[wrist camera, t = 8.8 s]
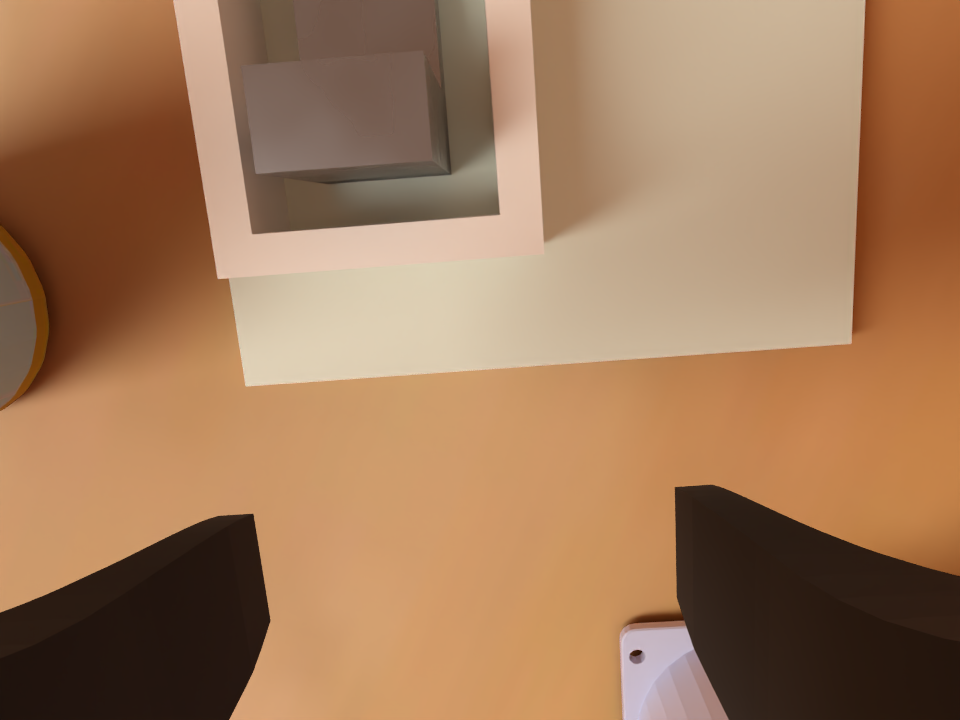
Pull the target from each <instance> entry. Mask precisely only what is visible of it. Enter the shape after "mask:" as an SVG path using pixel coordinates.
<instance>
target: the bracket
mask: <svg viewBox="0 0 960 720" xmlns="http://www.w3.org/2000/svg"><path fill="white" fill-rule="evenodd" d="M293 6H294V15H295V23H296V31H297V40H298V48H299V56H300V61H289V62H277V63H265V64H253V65H241V71H242V78H243V85H244V92H245V100H246V107H247V114H248V121H249V129H250V136H251V143H252V151H253V158H254V165H255V172H256V174H260V175H267V176H274V177H282V178H289V179H296V180H303V181H310V182H317V183H324V184H337V183H350V182H363V181H377V180H390V179H403V178H417V177H430V176H443V175H452V174H451V161H450V148H449V135H448V122H447V109H446V97H445V84H444V71H443V58H442V45H441V32H440V19H439V7H438V0H293Z"/></svg>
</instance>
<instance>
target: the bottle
mask: <svg viewBox="0 0 960 720" xmlns="http://www.w3.org/2000/svg"><path fill="white" fill-rule="evenodd" d="M48 337H49V319H48V312H47V304H46V297H45V294H44V290H43V287H42V285H41V283H40V281H39V278H38V276H37V274H36V272H35V270H34V268H33V265H32V263H31V261H30V260H29V258H28V256H27V255H26V253H25V252H24V251H23V250H22V248H21V247H20V246H19V245H18V244H17V242H16V241H15V240H14V239H13V238H12V237H11V235H10V234H9V233H8V232H7V231H6V230H5V229H4V228H3V227H2V226H1V225H0V411H1V410H3V409H5V408H6V407H7V406H9V405H10V404H11V403H12V402H14V401H15V400H16V399H17V398H19V397H20V396H21V395H23V394H24V393H25V391H26V390H27V389H28V388H29V386H30V385H31V383H32V381H33V380H34V378H35V376H36V375H37V373H38V371H39V370H40V368H41V366H42V363H43V361H44V358H45V352H46V347H47V342H48Z"/></svg>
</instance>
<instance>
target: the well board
mask: <svg viewBox="0 0 960 720" xmlns="http://www.w3.org/2000/svg"><path fill="white" fill-rule="evenodd" d="M173 2H174V8H175V14H176V20H177V27H178V33H179V39H180V45H181V52H182V58H183V64H184V70H185V77H186V83H187V89H188V95H189V102H190V108H191V114H192V121H193V127H194V133H195V139H196V146H197V152H198V158H199V164H200V171H201V177H202V183H203V189H204V196H205V202H206V208H207V214H208V221H209V227H210V233H211V239H212V246H213V252H214V258H215V264H216V271H217V277H218V279H225V278H229V283H230V289H231V295H232V302H233V308H234V315H235V321H236V327H237V334H238V340H239V347H240V353H241V359H242V366H243V372H244V379H245V385H246V386H259V385H273V384H287V383H302V382H316V381H330V380H344V379H358V378H373V377H387V376H401V375H415V374H430V373H444V372H458V371H472V370H486V369H501V368H515V367H529V366H543V365H558V364H572V363H586V362H600V361H614V360H629V359H643V358H657V357H671V356H685V355H700V354H714V353H728V352H742V351H757V350H771V349H785V348H799V347H813V346H828V345H842V344H851V342H852V318H853V293H854V269H855V244H856V220H857V195H858V171H859V146H860V121H861V97H862V72H863V48H864V23H865V0H438V7H439V19H440V32H441V45H442V58H443V71H444V84H445V97H446V109H447V122H448V135H449V148H450V161H451V174H452V175H443V176H430V177H417V178H403V179H390V180H377V181H363V182H350V183H337V184H324V183H317V182H310V181H303V180H296V179H289V178H282V177H274V176H267V175H260V174H256V172H255V165H254V158H253V151H252V143H251V136H250V129H249V121H248V114H247V107H246V100H245V92H244V85H243V78H242V71H241V65H253V64H265V63H277V62H289V61H300V56H299V48H298V40H297V31H296V23H295V15H294V6H293V0H173Z"/></svg>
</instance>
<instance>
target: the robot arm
mask: <svg viewBox="0 0 960 720" xmlns="http://www.w3.org/2000/svg"><path fill="white" fill-rule="evenodd" d="M675 516H676V575H677V599H678V602H679V605H680V609H681V612H682V615H683V618H684V621H667V622H650V623H634V624H629V625H627V626H626V627H624V628H623V630H622V631H621V633H620V661H621V688H622V715H623V720H960V576H956V575H952V574H948V573H945V572H941V571H937V570H933V569H929V568H926V567H922V566H919V565H916V564H912V563H909V562H906V561H903V560H899V559H896V558H893V557H890V556H886V555H883V554H880V553H877V552H874V551H871V550H868V549H865V548H862V547H860V546H857V545H854V544H852V543H849V542H847V541H844V540H841V539H839V538H836V537H834V536H831V535H829V534H826V533H824V532H821V531H819V530H816V529H814V528H812V527H809V526H807V525H805V524H802V523H800V522H798V521H795V520H793V519H791V518H789V517H787V516H784V515H782V514H780V513H778V512H776V511H773V510H771V509H769V508H767V507H765V506H763V505H760V504H758V503H756V502H754V501H752V500H750V499H747V498H745V497H743V496H741V495H738V494H736V493H734V492H732V491H729V490H727V489H724V488H721V487H718V486H714V485H701V486H686V487H675ZM269 623H270V615H269V608H268V602H267V596H266V590H265V584H264V577H263V571H262V565H261V559H260V552H259V546H258V540H257V534H256V528H255V521H254V515H253V514H243V515H227V516H217V517H214V518H210V519H207V520H204V521H202V522H199V523H197V524H195V525H192V526H190V527H188V528H186V529H184V530H181V531H179V532H177V533H175V534H173V535H171V536H169V537H167V538H165V539H163V540H161V541H159V542H157V543H155V544H153V545H151V546H149V547H147V548H145V549H143V550H141V551H139V552H137V553H135V554H133V555H131V556H129V557H127V558H125V559H123V560H121V561H118V562H116V563H114V564H112V565H110V566H108V567H106V568H104V569H101V570H99V571H97V572H95V573H93V574H91V575H88V576H86V577H84V578H82V579H80V580H78V581H75V582H73V583H71V584H69V585H67V586H65V587H63V588H60V589H58V590H56V591H54V592H51V593H49V594H47V595H44V596H42V597H39V598H37V599H34V600H32V601H30V602H27V603H25V604H22V605H20V606H17V607H14V608H12V609H9V610H6V611H4V612H1V613H0V720H229V719H230V717H231V715H232V713H233V711H234V709H235V707H236V705H237V703H238V701H239V699H240V697H241V695H242V693H243V691H244V689H245V687H246V685H247V683H248V681H249V679H250V677H251V675H252V673H253V670H254V668H255V665H256V662H257V659H258V657H259V654H260V651H261V648H262V645H263V642H264V639H265V636H266V633H267V630H268V626H269ZM634 650H641V651H642V653H641V654H640V655H638V656H631V655H630V653H631V652H632V651H634Z"/></svg>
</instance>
